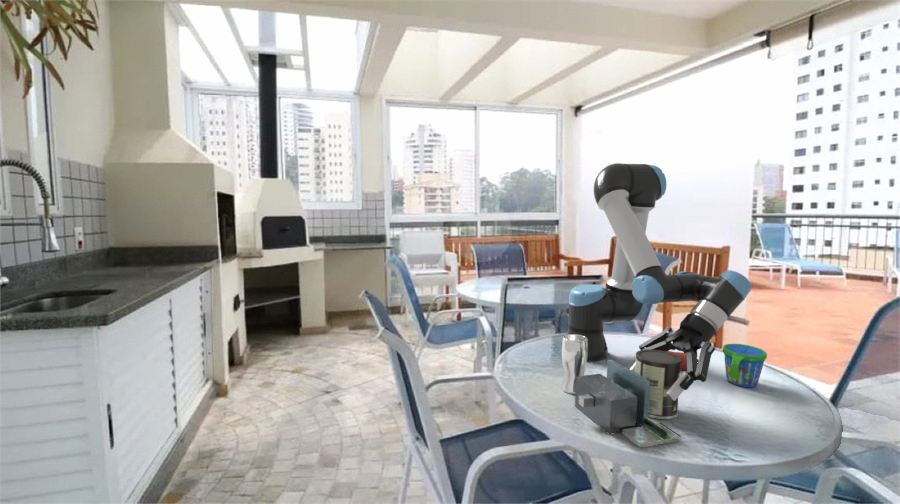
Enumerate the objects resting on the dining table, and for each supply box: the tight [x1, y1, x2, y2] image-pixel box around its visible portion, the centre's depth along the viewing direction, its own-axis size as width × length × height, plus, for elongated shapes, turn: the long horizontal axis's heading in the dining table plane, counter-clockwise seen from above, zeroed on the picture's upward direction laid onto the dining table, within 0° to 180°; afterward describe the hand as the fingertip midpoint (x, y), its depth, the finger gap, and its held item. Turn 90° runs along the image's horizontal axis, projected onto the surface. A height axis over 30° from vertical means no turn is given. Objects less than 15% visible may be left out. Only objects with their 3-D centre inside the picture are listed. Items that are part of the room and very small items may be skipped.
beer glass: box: [561, 333, 588, 395], centre depth 121 cm, size 7×7×15 cm
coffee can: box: [635, 349, 681, 420], centre depth 110 cm, size 10×10×14 cm
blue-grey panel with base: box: [579, 359, 667, 436], centre depth 103 cm, size 20×13×11 cm, turn 16°
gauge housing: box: [574, 373, 682, 449], centre depth 104 cm, size 20×14×8 cm, turn 16°
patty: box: [666, 350, 699, 372], centre depth 144 cm, size 18×14×2 cm
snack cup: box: [722, 343, 768, 388], centre depth 127 cm, size 16×10×10 cm
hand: (649, 385), depth 109 cm, fingers open, 13 cm apart
